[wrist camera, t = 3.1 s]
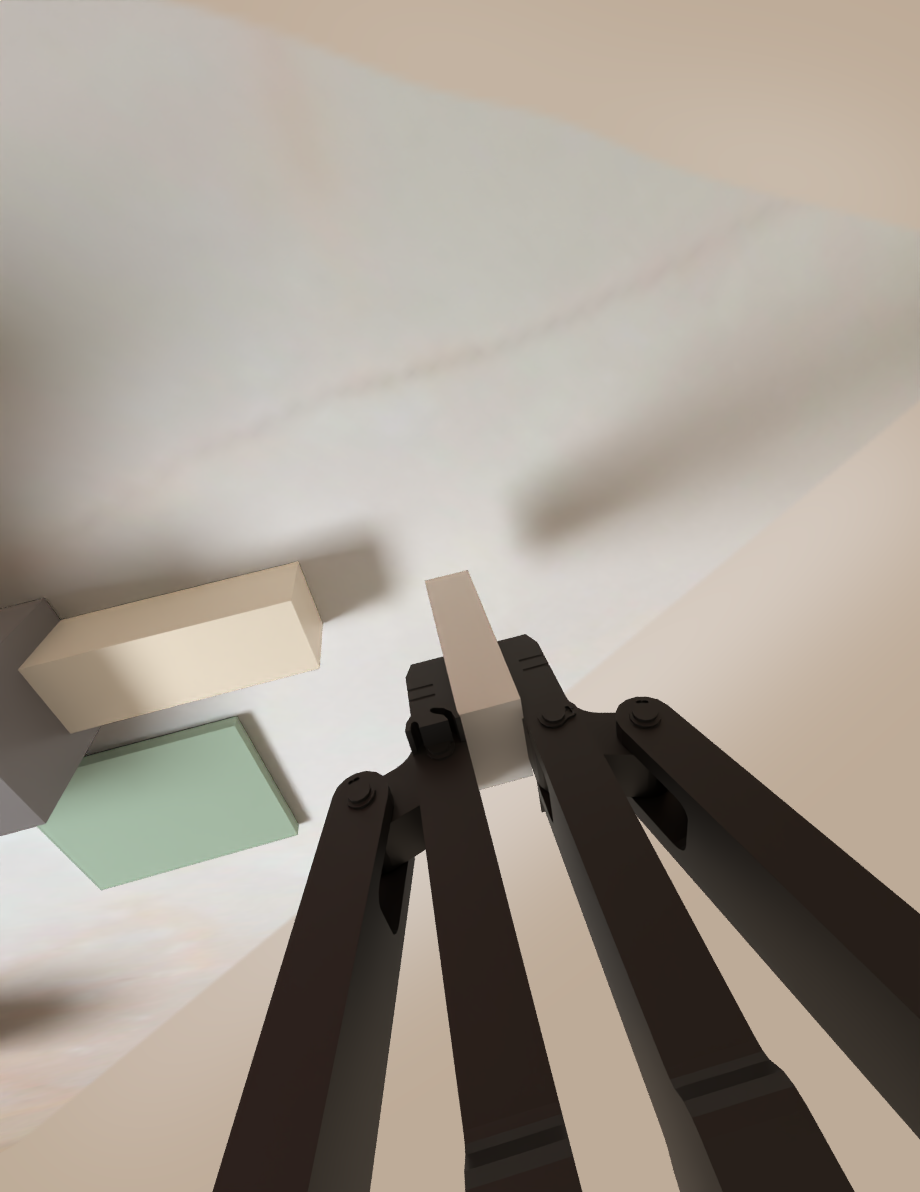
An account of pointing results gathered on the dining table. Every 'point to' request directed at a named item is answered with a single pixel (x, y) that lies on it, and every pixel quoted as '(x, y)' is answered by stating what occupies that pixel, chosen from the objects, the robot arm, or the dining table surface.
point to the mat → (168, 805)
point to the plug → (135, 670)
